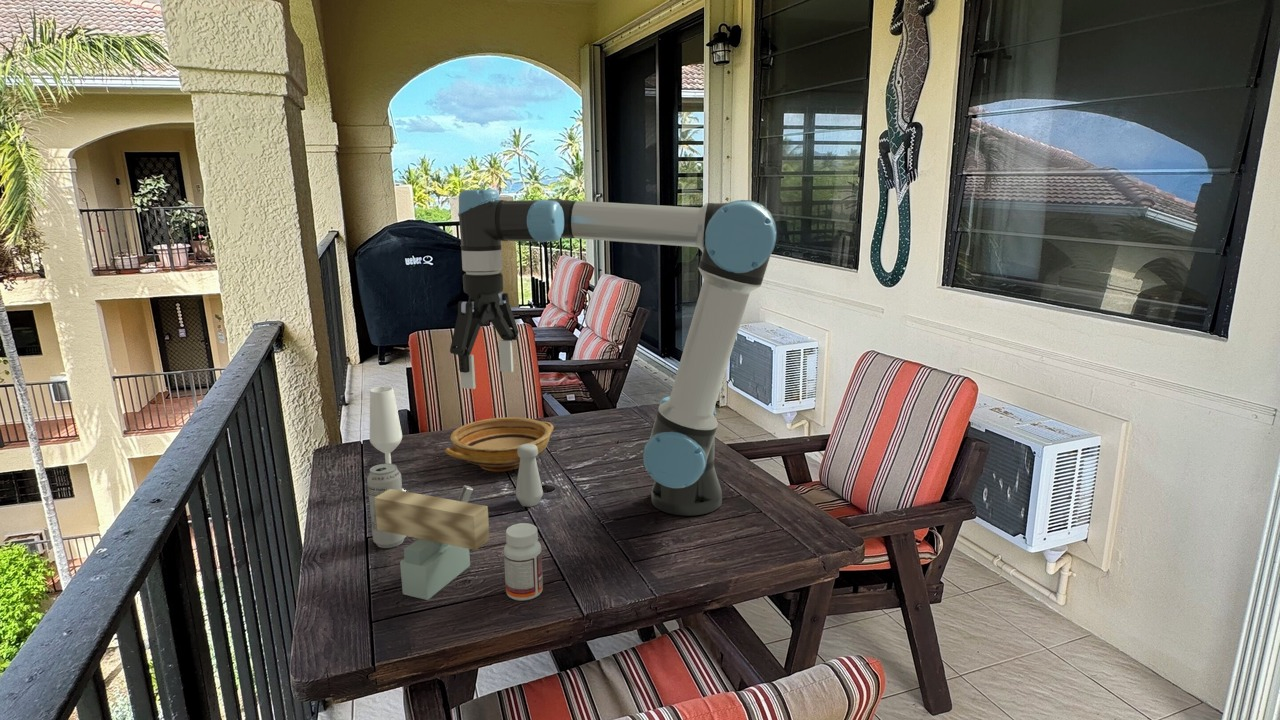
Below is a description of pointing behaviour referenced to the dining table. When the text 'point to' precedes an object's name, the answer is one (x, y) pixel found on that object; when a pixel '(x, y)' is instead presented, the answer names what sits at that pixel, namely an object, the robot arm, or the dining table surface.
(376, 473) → the energy drink can
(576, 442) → the dining table surface
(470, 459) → the ceramic bowl
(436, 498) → the oak bar
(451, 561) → the ridge block
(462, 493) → the lighter
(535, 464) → the salt shaker
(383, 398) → the champagne flute
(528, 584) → the pill bottle
